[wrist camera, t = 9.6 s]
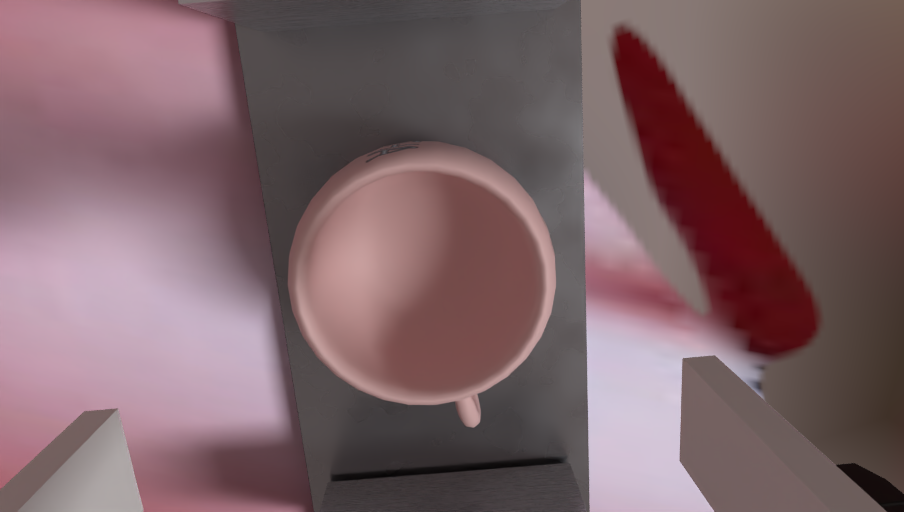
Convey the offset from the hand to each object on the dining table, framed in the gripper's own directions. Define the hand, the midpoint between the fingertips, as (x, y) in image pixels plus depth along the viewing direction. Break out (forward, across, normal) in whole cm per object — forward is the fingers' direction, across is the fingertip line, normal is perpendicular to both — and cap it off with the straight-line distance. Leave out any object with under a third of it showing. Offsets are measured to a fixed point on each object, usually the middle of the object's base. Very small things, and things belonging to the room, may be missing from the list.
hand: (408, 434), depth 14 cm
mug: (+14, +1, 0) cm, 14 cm away
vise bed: (+15, +1, -1) cm, 15 cm away
